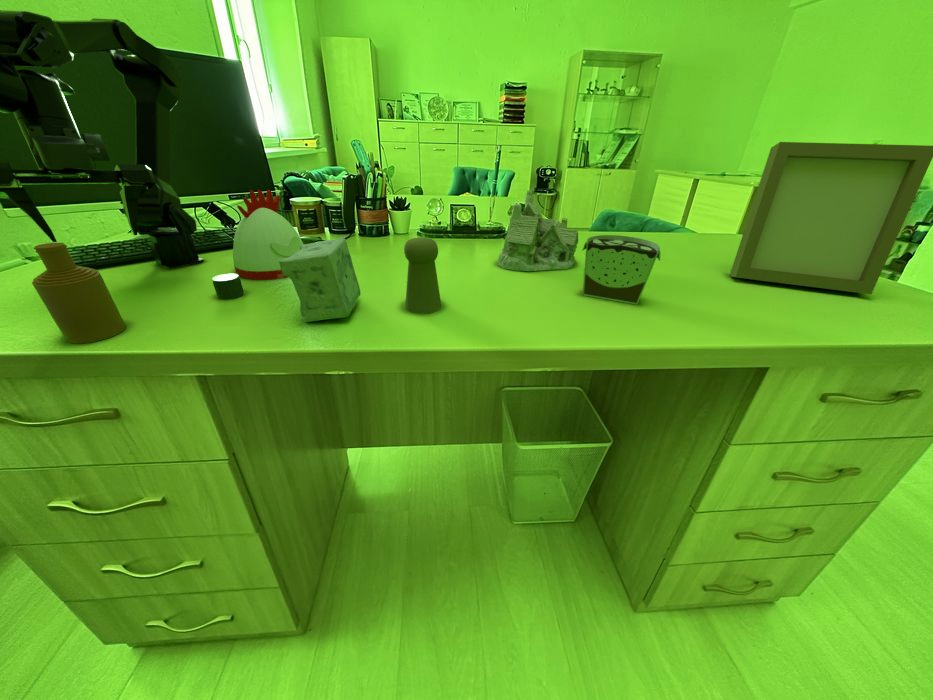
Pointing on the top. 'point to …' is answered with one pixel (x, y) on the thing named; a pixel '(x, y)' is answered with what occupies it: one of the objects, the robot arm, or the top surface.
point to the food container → (618, 267)
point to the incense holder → (323, 279)
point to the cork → (422, 276)
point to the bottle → (76, 297)
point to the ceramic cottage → (537, 241)
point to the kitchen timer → (263, 239)
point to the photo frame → (829, 213)
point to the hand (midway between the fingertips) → (97, 238)
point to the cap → (228, 286)
